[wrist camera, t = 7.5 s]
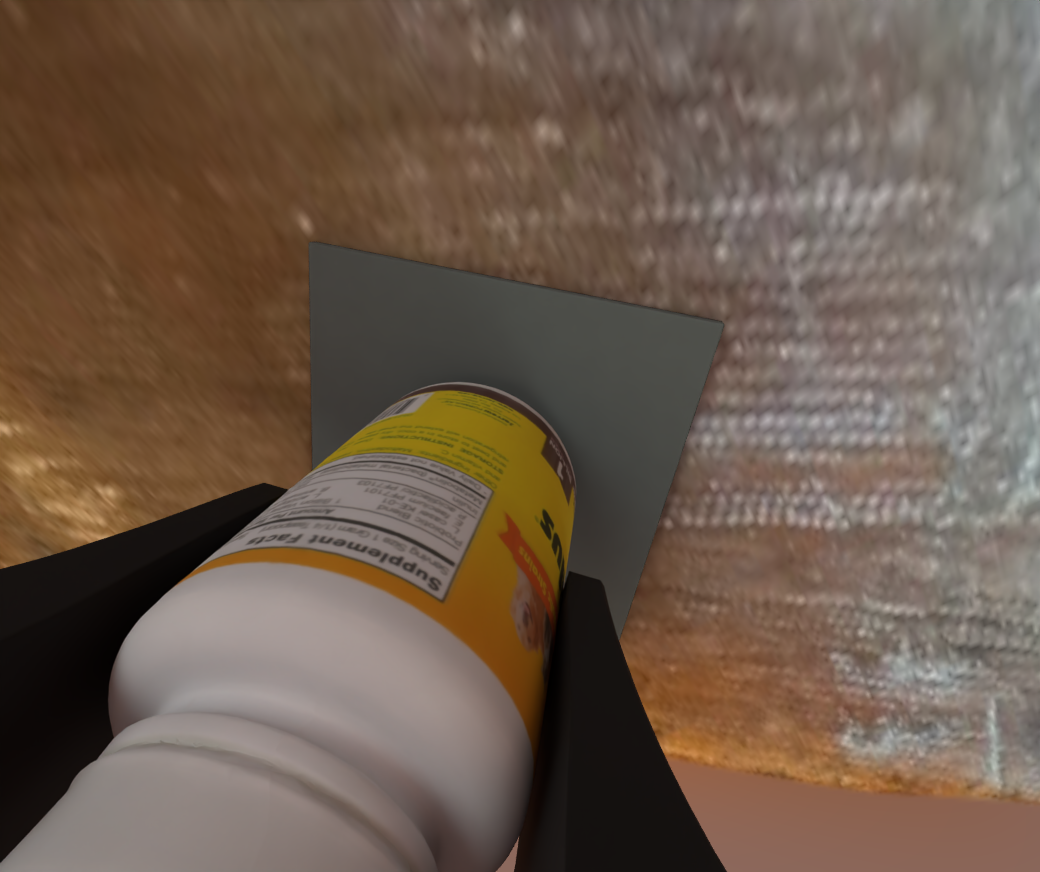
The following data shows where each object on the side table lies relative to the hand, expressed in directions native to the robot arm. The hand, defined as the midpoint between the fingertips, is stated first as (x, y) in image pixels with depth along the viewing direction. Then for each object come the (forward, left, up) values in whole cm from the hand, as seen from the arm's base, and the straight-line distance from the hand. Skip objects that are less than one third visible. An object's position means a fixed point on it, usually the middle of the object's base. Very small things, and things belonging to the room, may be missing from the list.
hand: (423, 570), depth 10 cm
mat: (0, 0, -5) cm, 5 cm away
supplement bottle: (0, 0, -4) cm, 4 cm away
